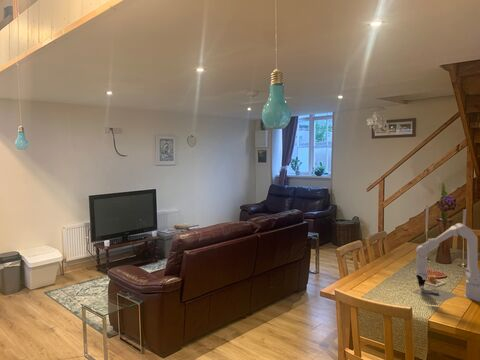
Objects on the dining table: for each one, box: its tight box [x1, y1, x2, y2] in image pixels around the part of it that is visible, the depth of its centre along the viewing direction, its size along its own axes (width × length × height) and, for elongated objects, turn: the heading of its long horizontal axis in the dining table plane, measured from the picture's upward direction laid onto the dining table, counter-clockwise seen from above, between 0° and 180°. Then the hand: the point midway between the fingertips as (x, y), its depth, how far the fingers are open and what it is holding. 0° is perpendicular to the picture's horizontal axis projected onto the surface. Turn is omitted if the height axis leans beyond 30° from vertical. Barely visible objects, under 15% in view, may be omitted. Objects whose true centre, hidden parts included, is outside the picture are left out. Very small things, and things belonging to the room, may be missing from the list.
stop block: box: [427, 274, 437, 285], centre depth 235 cm, size 4×4×5 cm
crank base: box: [412, 285, 458, 303], centre depth 218 cm, size 18×18×1 cm
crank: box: [419, 284, 439, 295], centre depth 219 cm, size 10×4×5 cm, turn 72°
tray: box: [424, 277, 446, 288], centre depth 236 cm, size 11×11×2 cm
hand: (421, 287), depth 221 cm, fingers closed
